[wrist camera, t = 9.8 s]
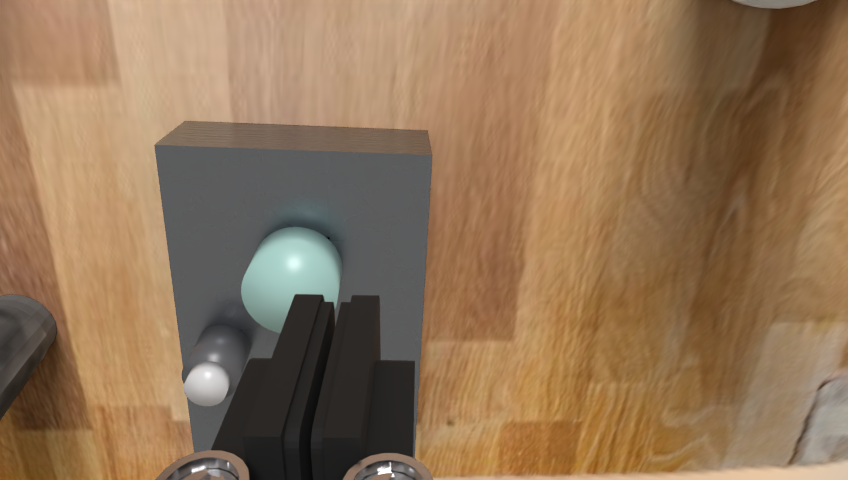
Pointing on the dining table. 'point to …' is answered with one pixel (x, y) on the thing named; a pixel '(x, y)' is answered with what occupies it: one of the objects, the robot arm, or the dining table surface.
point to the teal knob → (289, 274)
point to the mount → (293, 207)
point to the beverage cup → (21, 343)
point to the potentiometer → (215, 365)
